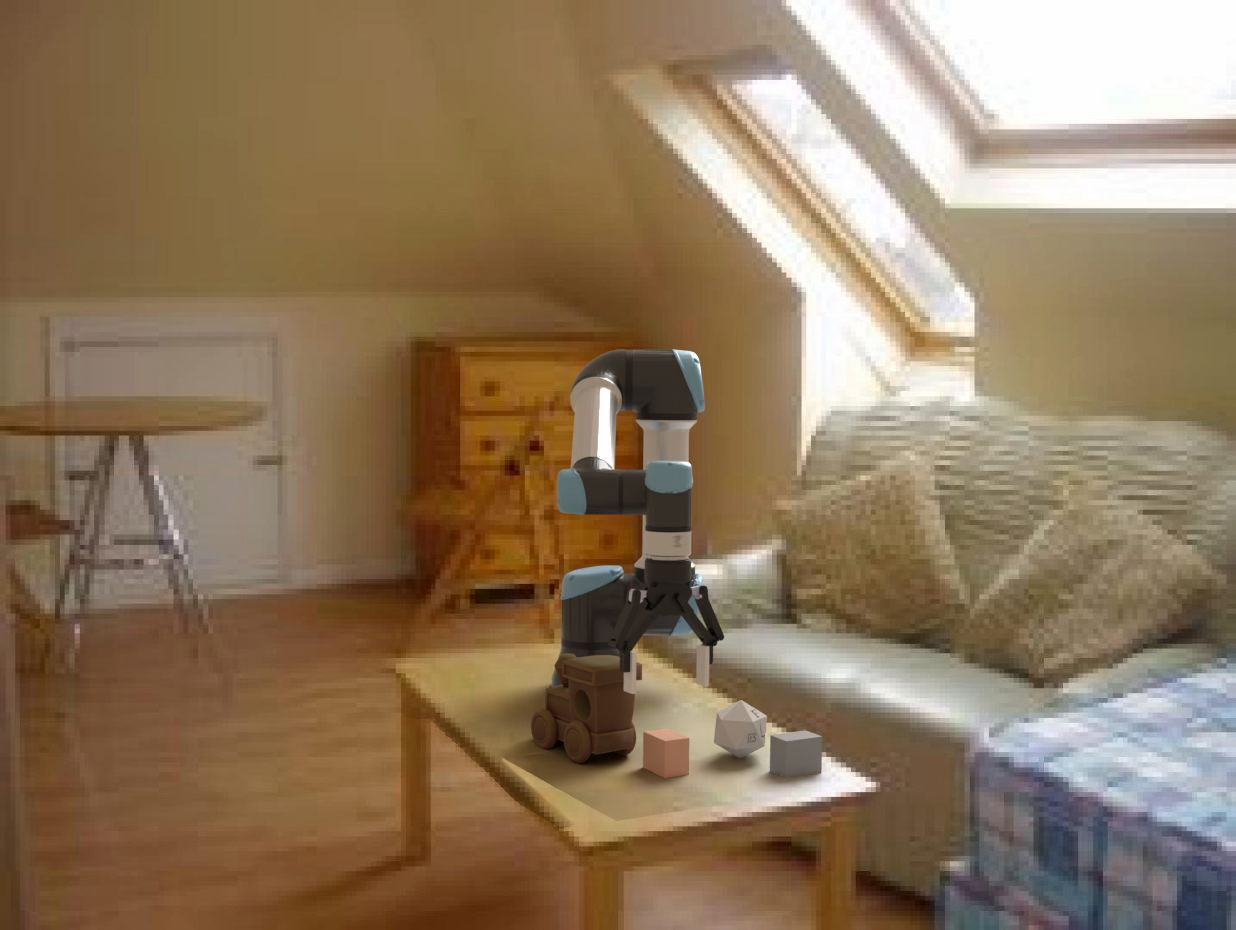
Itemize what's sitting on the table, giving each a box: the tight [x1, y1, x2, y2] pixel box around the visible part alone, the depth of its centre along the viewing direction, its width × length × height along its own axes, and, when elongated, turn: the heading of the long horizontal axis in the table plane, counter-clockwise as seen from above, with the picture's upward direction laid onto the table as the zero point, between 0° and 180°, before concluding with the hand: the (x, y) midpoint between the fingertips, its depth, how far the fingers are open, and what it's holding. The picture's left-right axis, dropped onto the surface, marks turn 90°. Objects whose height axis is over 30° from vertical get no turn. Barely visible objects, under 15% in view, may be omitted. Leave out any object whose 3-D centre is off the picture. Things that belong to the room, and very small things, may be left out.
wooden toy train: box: [530, 653, 643, 764], centre depth 254 cm, size 20×11×17 cm, turn 35°
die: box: [713, 699, 768, 759], centre depth 251 cm, size 8×9×10 cm
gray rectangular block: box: [769, 730, 823, 779], centre depth 243 cm, size 4×7×6 cm, turn 119°
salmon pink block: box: [642, 728, 690, 779], centre depth 243 cm, size 7×4×6 cm, turn 29°
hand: (666, 688), depth 242 cm, fingers open, 13 cm apart
